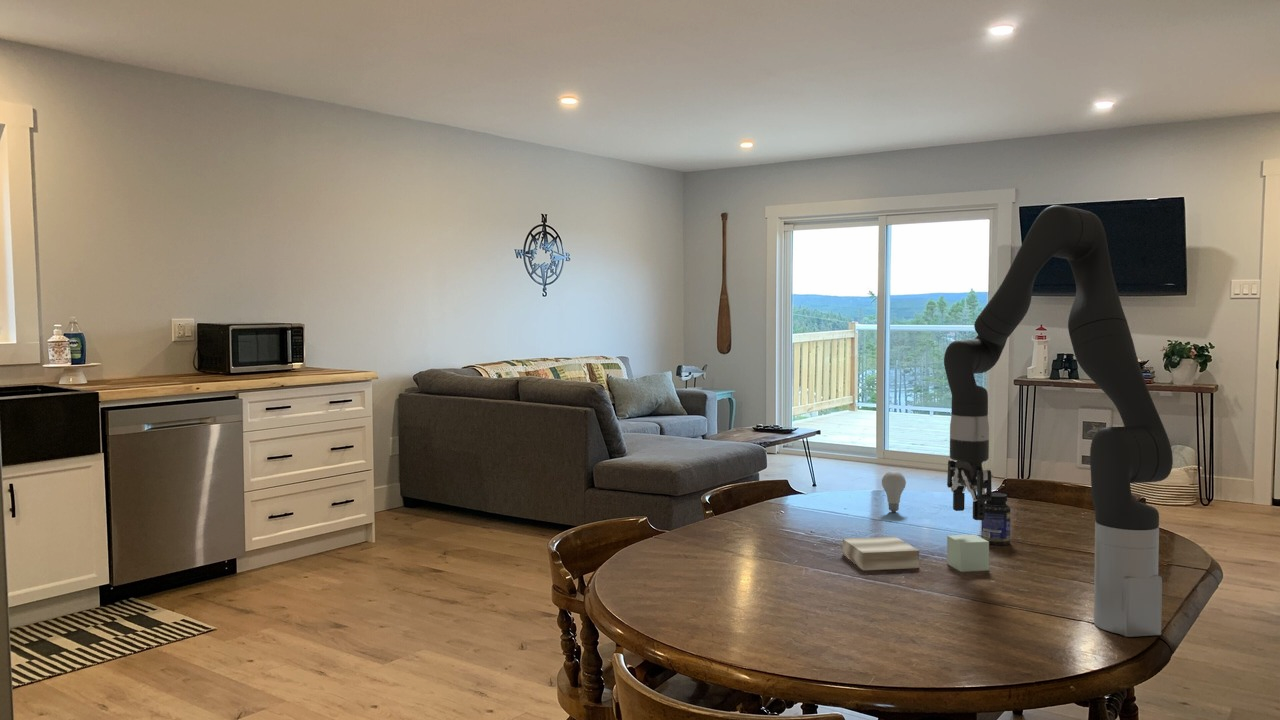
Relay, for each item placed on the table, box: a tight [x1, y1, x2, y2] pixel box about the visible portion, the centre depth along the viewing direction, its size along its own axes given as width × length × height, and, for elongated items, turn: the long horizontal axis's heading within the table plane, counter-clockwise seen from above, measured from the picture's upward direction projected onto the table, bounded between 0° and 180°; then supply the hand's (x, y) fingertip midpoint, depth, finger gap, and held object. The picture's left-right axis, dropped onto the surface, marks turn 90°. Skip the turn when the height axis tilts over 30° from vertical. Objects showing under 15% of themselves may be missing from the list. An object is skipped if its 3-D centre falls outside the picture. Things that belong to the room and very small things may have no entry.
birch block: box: [842, 536, 920, 571], centre depth 189 cm, size 12×12×4 cm
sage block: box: [946, 534, 990, 573], centre depth 184 cm, size 6×6×6 cm
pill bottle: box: [981, 492, 1011, 546], centre depth 204 cm, size 6×6×11 cm
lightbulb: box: [881, 470, 907, 513], centre depth 237 cm, size 6×6×11 cm
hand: (968, 515), depth 184 cm, fingers open, 8 cm apart
